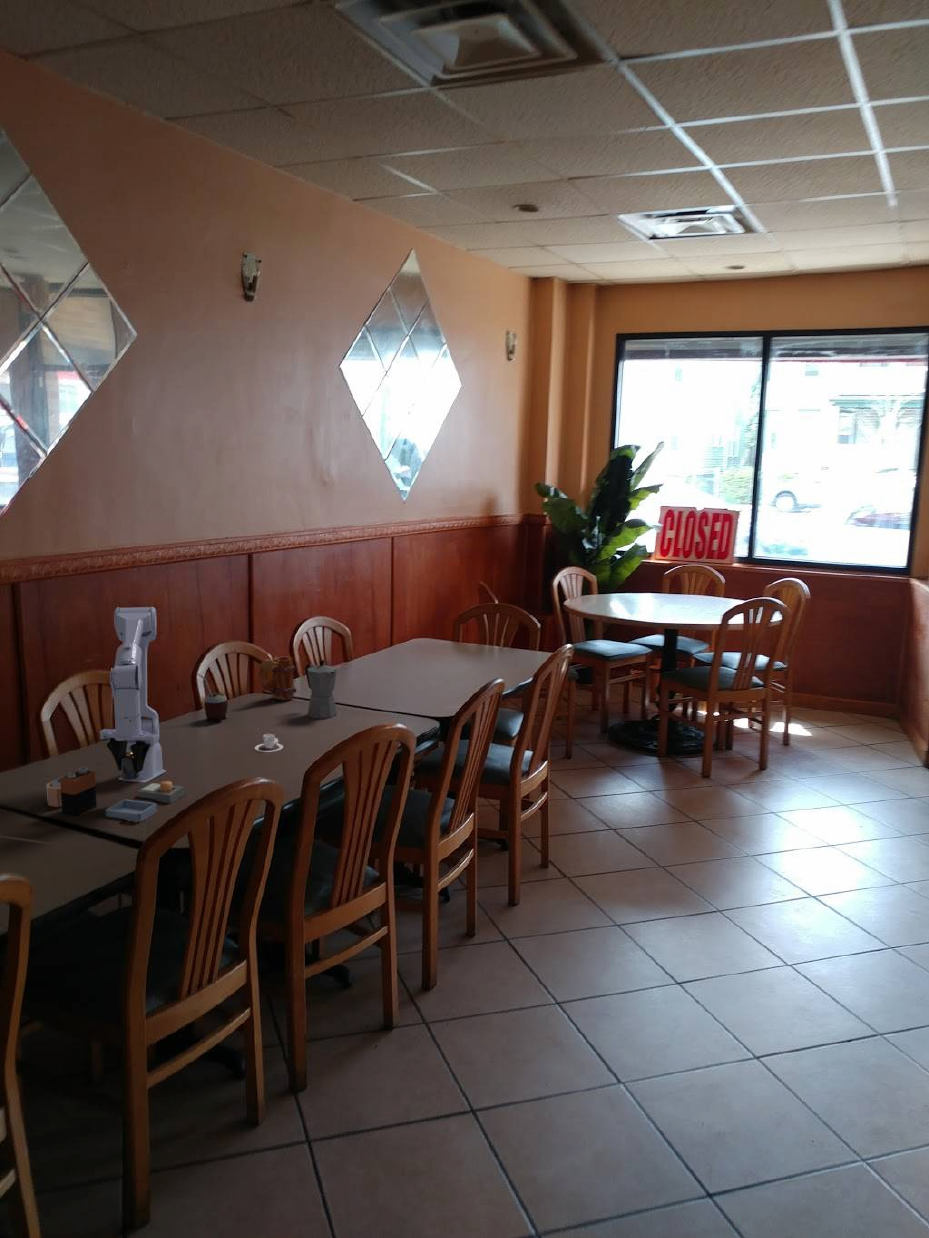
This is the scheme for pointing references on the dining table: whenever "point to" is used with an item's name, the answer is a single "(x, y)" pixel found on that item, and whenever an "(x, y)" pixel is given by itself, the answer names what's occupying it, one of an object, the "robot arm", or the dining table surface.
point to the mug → (278, 677)
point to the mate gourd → (215, 705)
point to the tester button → (166, 786)
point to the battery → (78, 792)
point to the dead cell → (57, 782)
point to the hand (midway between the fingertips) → (130, 770)
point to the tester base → (161, 793)
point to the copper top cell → (128, 767)
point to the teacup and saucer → (269, 743)
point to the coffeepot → (321, 690)
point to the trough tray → (131, 810)
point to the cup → (53, 795)
